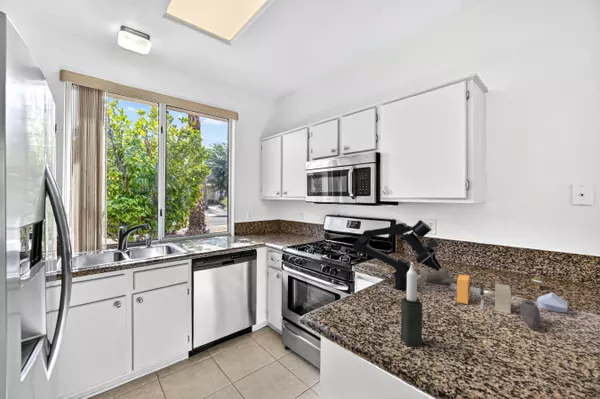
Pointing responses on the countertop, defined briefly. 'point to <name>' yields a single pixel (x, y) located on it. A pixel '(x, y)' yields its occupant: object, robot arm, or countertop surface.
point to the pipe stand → (500, 294)
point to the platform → (537, 281)
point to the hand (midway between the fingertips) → (439, 269)
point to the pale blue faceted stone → (552, 302)
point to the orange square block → (463, 288)
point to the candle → (411, 312)
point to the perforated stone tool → (530, 314)
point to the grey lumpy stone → (437, 276)
